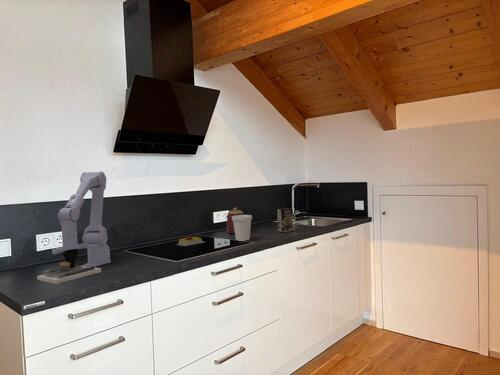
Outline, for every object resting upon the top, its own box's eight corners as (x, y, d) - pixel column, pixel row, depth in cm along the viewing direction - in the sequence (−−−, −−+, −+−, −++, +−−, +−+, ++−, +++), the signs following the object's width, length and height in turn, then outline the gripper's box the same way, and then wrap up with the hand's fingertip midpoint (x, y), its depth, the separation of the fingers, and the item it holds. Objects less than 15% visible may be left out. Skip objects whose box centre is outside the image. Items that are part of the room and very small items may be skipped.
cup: (255, 241, 218) (254, 216, 218) (234, 243, 215) (233, 217, 215) (250, 238, 230) (249, 214, 230) (230, 240, 227) (229, 215, 227)
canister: (248, 231, 260) (247, 206, 260) (240, 234, 248) (239, 208, 248) (231, 231, 265) (231, 206, 265) (223, 233, 254) (222, 208, 253)
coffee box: (282, 233, 247) (281, 209, 246) (277, 232, 252) (276, 208, 252) (293, 231, 250) (293, 208, 250) (289, 230, 256) (288, 207, 256)
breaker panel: (82, 268, 167) (81, 261, 167) (101, 271, 159) (100, 264, 159) (37, 279, 150) (36, 272, 150) (56, 284, 142) (55, 276, 142)
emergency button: (175, 237, 219) (196, 234, 230) (176, 245, 219) (196, 241, 230) (184, 239, 213) (205, 235, 223) (185, 246, 213) (205, 243, 224)
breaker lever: (66, 271, 155) (65, 261, 155) (70, 272, 153) (69, 262, 153) (60, 273, 153) (59, 263, 152) (64, 273, 151) (63, 263, 151)
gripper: (58, 239, 146) (60, 272, 147) (90, 233, 159) (92, 264, 159) (48, 238, 150) (50, 271, 151) (81, 233, 162) (82, 263, 163)
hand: (71, 267), depth 155 cm, fingers closed
